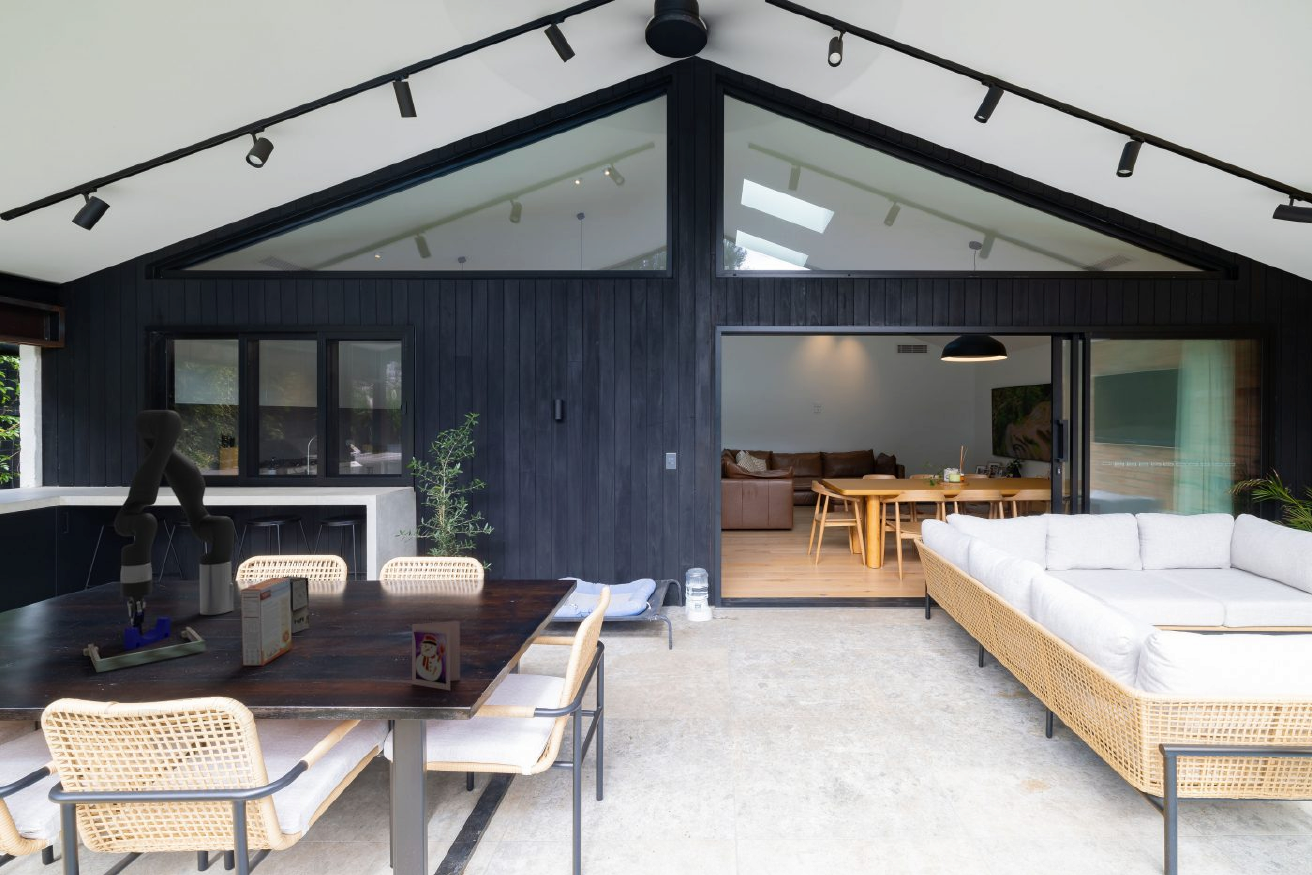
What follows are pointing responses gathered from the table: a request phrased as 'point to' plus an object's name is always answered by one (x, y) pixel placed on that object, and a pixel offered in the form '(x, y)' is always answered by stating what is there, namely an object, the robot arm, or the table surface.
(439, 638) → the greeting card
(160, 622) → the blue notched block
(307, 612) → the coffee box
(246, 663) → the cracker box
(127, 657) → the grey-green open frame
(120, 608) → the table surface
